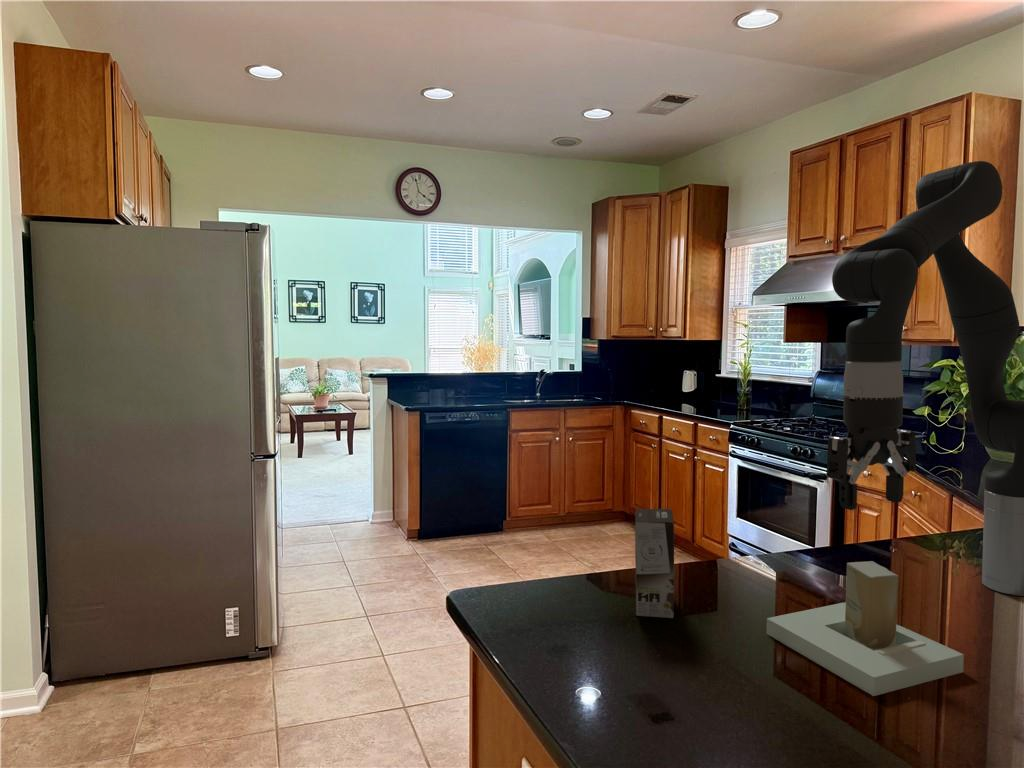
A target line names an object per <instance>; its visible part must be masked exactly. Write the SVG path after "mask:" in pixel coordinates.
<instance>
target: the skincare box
mask: <svg viewBox="0 0 1024 768" xmlns="http://www.w3.org/2000/svg"><path fill="white" fill-rule="evenodd" d="M845 582H846V585H845V602H846V610H845V636H846V637H848V638H850V639H852V640H854V641H856V642H858V643H860V644H862V645H864V646H866V647H868V648H870V649H871V650H873V651H875V650H879V649H883V648H888V647H892V646H896V624H897V621H898V620H897V619H898V591H899V590H898V589H899V575H898V574H896V573H894V572H892V571H890V570H889V569H888V568H886V567H884V566H882V565H880V564H878V563H876V561H873V560H869V561H854V562H853V561H851V562H847V563H846V581H845Z"/></svg>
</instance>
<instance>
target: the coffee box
mask: <svg viewBox="0 0 1024 768" xmlns="http://www.w3.org/2000/svg"><path fill="white" fill-rule="evenodd" d="M634 518H635V521H634V523H635V524H634V527H635V529H634V530H635V531H634V532H635V533H634V539H635V541H634V542H635V543H634V544H635V545H634V546H635V547H634V548H635V551H634V555H635V558H634V559H635V563H634V564H635V610H636V611H635V615H636V616H637V617H651V618H664V619H665V618H667V619H673V618H674V616H675V615H674V614H675V528H674V527H675V521H674V520H675V519H674V514H673V509H671V508H647V509H646V508H636V509H635V517H634Z"/></svg>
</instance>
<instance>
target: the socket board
mask: <svg viewBox="0 0 1024 768" xmlns="http://www.w3.org/2000/svg"><path fill="white" fill-rule="evenodd" d="M845 610H846V601H845V602H840V603H835V604H830V605H825V606H819V607H815V608H811V609H806V610H801V611H796V612H791V613H785V614H781V615H777V616H771V617H767V618H766V634H767V635H768V636H769V637H772V638H773V639H775V640H776V641H778V642H780V643H781V644H783V645H785V646H786V647H788V648H790V649H792V650H793V651H795V652H797V653H799V654H800V655H802V656H804V657H806V658H807V659H809V660H811V661H813V662H814V663H815V664H818V665H819V666H820V667H823V668H824V669H826V670H828V671H829V672H831V673H833V674H834V675H836V676H838V677H840V678H842V679H843V680H845V681H847V682H848V683H850V684H851V685H854V686H855V687H857V688H858V689H860V690H862V691H864V692H865V693H868V694H869V695H871V696H872V697H875V696H880V695H884V694H886V693H890V692H894V691H897V690H902V689H906V688H910V687H913V686H916V685H920V684H921V685H922V684H924V683H928V682H933V681H935V680H939V679H943V678H948V677H950V676H954V675H958V674H963V673H964V659H965V658H964V655H965V654H964V653H961V652H959V651H957V650H955V649H953V648H950V647H948V646H946V645H944V644H941V643H940V642H937V641H935V640H934V639H933V640H932V639H931V638H929V637H927V636H924V635H921V634H919V633H917V632H915V631H913V630H910V629H908V628H907V627H906V628H905V627H904V626H901V625H899V624H897V623H896V646H892V647H888V648H883V649H879V650H875V651H873V650H871V649H870V648H868V647H866V646H864V645H862V644H860V643H858V642H856V641H854V640H852V639H850V638H848V637H846V636H845Z"/></svg>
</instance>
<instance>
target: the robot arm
mask: <svg viewBox="0 0 1024 768" xmlns="http://www.w3.org/2000/svg"><path fill="white" fill-rule="evenodd" d="M1002 182H1003V181H1002V179H1001V176H1000V173H999V171H998V169H997V168H996V167H995V165H993V164H992V163H990V162H989V161H986V160H985V161H984V160H977V161H971V162H966V163H963V164H959V165H954V166H951V167H948V168H944V169H940V170H937V171H934V172H929V173H927V174H925V175H922V177H920V178H919V180H917V183H916V186H915V204H916V210H915V211H913V212H911V213H909V214H907V215H905V216H904V217H902V218H901V219H899V220H898V221H896V222H895V223H894V224H893V225H892V226H890V227H889V228H888V229H887V230H885V232H884V233H883V234H882V235H881V236H878V237H877V238H874V239H872V240H871V239H870V240H869V241H867V242H865V243H862V244H861V245H859V246H857V247H855V248H852V249H851V250H849V251H848V252H846V253H845V254H844V255H843V256H842V257H841V258H839V260H838V261H837V263H836V265H835V267H834V269H833V272H832V276H831V283H832V287H833V290H834V291H835V294H836V295H837V296H838V298H840V299H842V300H844V301H847V302H850V303H865V302H868V303H869V302H879V304H878V307H877V308H876V310H875V312H874V313H873V315H871V316H868V317H865V318H860V319H856V320H853V321H851V322H850V323H848V325H847V326H846V331H845V367H844V371H843V372H844V373H843V412H842V413H843V421H842V423H843V424H844V425H845V426H846V427H847V433H846V436H843V437H841V436H834V435H833V436H832V435H831V436H829V437H828V440H827V441H828V442H827V444H828V445H827V457H826V459H827V461H826V475H825V476H826V477H827V478H829V479H832V480H836V481H837V482H838V485H839V487H838V488H839V489H838V490H839V491H838V498H839V499H838V502H839V504H840V507H841V508H842V509H845V510H849V511H854V510H856V509H857V508H858V484H856V482H857V481H858V478H859V477H860V476H861V474H862V473H863V472H865V471H866V470H867V469H868V466H875V465H877V464H880V465H881V466H882V467H883V468H884V470H885V472H886V473H887V474H888V475H885V499H886V501H888V502H892V503H895V504H899V503H902V502H903V496H904V494H905V493H904V487H905V485H904V484H905V477H906V476H907V475H908V473H910V472H912V473H913V472H915V471H916V469H917V453H916V451H917V448H916V432H915V431H914V430H910V429H909V430H908V429H900V427H902V425H903V423H904V422H903V419H904V418H903V414H904V373H903V366H902V365H903V364H902V355H903V354H902V353H903V352H902V351H903V350H902V347H903V346H902V344H903V342H902V341H903V339H902V338H903V336H902V335H903V330H904V326H905V323H906V322H905V321H906V317H907V314H908V310H909V307H910V305H911V301H912V298H913V295H914V292H915V289H916V285H917V282H918V275H919V272H918V271H919V270H918V269H920V268H921V266H923V265H924V264H925V263H926V262H927V261H928V260H929V259H930V258H931V257H932V256H933V258H934V259H935V262H936V265H937V268H938V272H939V275H940V279H941V282H942V286H943V290H944V293H945V298H946V303H947V307H948V312H949V316H950V321H951V324H952V327H953V332H954V334H955V337H956V341H957V343H958V344H957V345H958V347H959V352H960V355H961V359H962V360H961V361H962V364H963V369H964V372H965V378H966V383H967V390H968V395H969V403H970V404H969V405H970V411H971V419H972V423H973V429H974V432H975V435H976V437H977V439H978V441H979V443H980V444H981V445H982V446H984V447H985V448H987V449H990V450H992V451H997V452H1004V453H1010V454H1014V456H1013V462H1012V465H1011V466H1009V467H1008V468H1006V469H1001V470H993V471H991V472H988V473H987V474H986V475H985V476H984V491H983V494H984V497H983V532H982V536H983V537H982V564H981V566H982V567H981V569H982V570H981V572H982V574H981V576H982V577H981V583H982V584H983V586H985V587H987V588H988V589H991V590H992V591H996V592H999V593H1003V594H1007V595H1013V596H1020V597H1024V401H1023V400H1013V399H1009V398H1008V396H1007V394H1006V389H1005V384H1004V379H1003V378H1004V377H1003V375H1004V373H1003V372H1004V369H1005V366H1006V363H1007V361H1008V359H1009V357H1010V354H1011V353H1012V350H1013V348H1014V347H1015V344H1016V343H1017V339H1018V337H1019V334H1020V321H1019V316H1018V312H1017V307H1016V303H1015V300H1014V295H1013V292H1012V289H1010V287H1009V286H1008V285H1007V283H1006V282H1005V281H1004V280H1003V279H1002V278H1001V277H1000V276H999V275H998V274H996V272H994V271H993V270H992V269H991V268H990V267H988V266H987V265H986V264H985V263H983V262H982V261H981V260H980V259H978V258H977V257H976V256H975V255H974V254H973V253H972V252H971V250H970V249H969V248H968V247H967V246H966V244H965V243H964V240H963V238H962V237H961V234H960V233H962V232H964V231H965V230H966V229H968V228H969V227H971V226H972V225H974V224H976V223H978V222H979V221H981V220H983V219H985V218H987V217H989V216H990V215H992V214H993V213H994V212H996V211H997V209H998V207H1000V203H1001V201H1002V198H1003V183H1002ZM905 456H906V461H905Z"/></svg>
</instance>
